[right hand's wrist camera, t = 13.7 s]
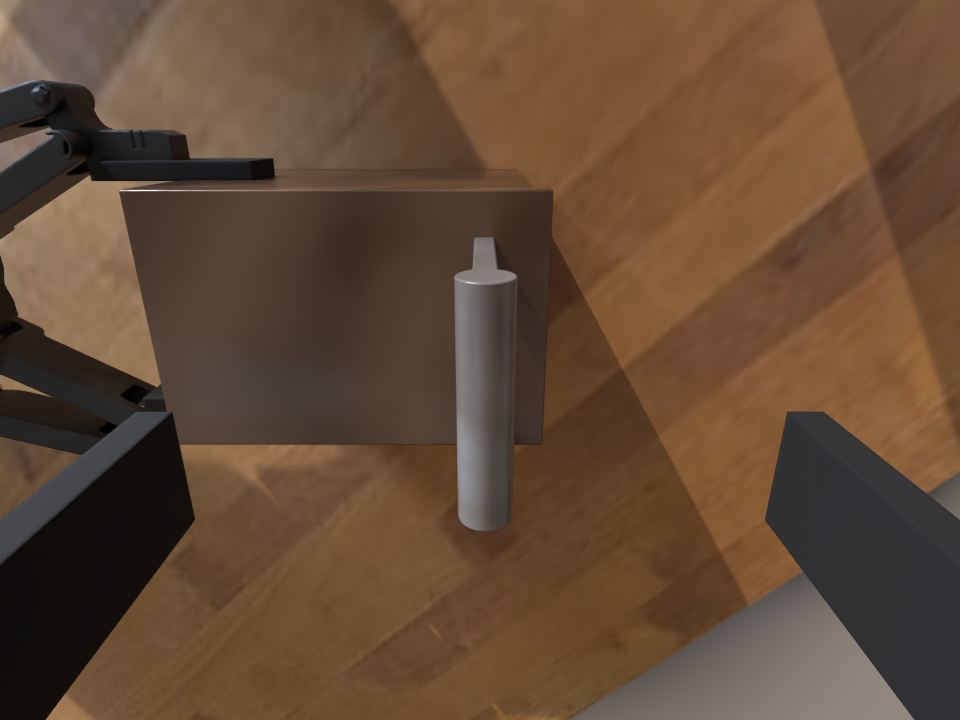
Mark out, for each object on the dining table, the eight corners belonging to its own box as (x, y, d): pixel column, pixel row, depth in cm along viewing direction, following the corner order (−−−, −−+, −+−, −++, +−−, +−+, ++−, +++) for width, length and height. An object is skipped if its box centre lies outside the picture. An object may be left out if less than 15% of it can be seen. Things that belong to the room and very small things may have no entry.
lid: (549, 187, 20) (592, 219, 13) (539, 431, 24) (567, 574, 16) (136, 187, 20) (-74, 220, 13) (186, 431, 24) (47, 573, 16)
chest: (517, 169, 30) (534, 186, 20) (513, 343, 34) (526, 431, 24) (249, 169, 30) (136, 187, 20) (273, 343, 34) (187, 431, 24)
